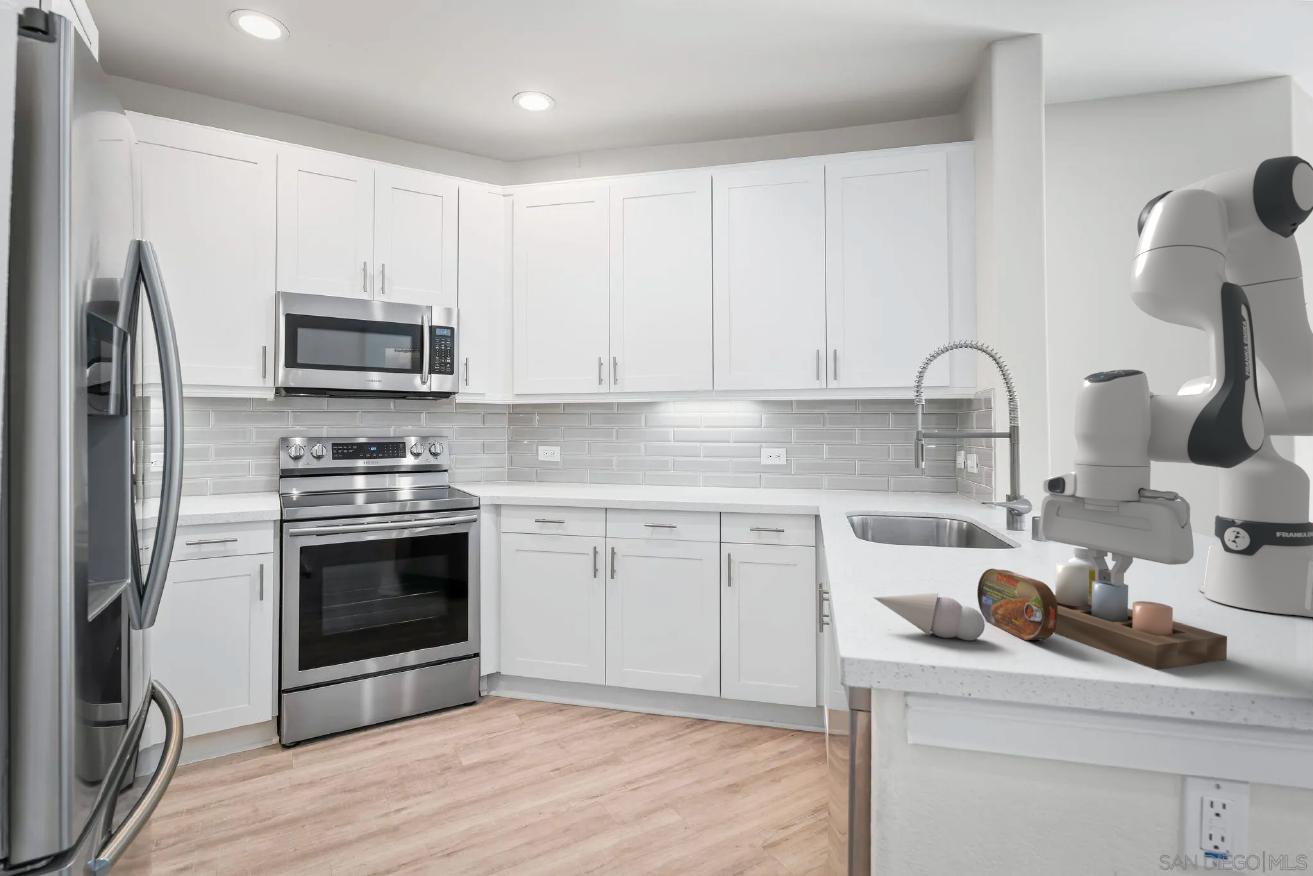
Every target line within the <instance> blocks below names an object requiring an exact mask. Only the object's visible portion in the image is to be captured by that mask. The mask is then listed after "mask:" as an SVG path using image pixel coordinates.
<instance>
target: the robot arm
mask: <svg viewBox="0 0 1313 876" xmlns="http://www.w3.org/2000/svg"><path fill="white" fill-rule="evenodd" d="M1312 212H1313V166H1312V164H1310V162H1308V161H1307V160H1305V159H1303V158H1301V157H1300V156H1297V155H1288V156H1286V155H1285V156H1279V157H1272V158H1268V159H1265V160H1263V161H1261V162H1259V163H1255V164H1250V165H1249V164H1248V165H1244V166H1240V167H1236V168H1232V169H1228V170H1224V171H1221V172H1217V173H1214V174H1213V175H1211V176H1209V177H1206V178H1203V179H1200V180H1197V181H1194V182H1191V183H1190V184H1187V185H1184V186H1182V187H1180V188H1177V189H1175V190H1167V191H1166V192H1164V193H1161V194H1159V195H1157V196H1156V197H1154V198H1153V199H1151V200H1149V201H1148V202H1147V203H1146V204H1145V206H1144V207H1143V209H1142V210H1141V211H1140V214H1139V215H1138V219H1137V234H1138V241H1137V245H1136V247H1135V252H1134V256H1133V262H1132V265H1131V270H1130V276H1129V296H1130V298H1131V300H1132V301H1133V302H1134V305H1136V307H1138V309H1140V311H1142V312H1143V313H1145V314H1147V315H1148V316H1151V317H1152V318H1154V319H1156V320H1157V319H1158V320H1160V321H1163V322H1166V323H1170V324H1174V325H1180V326H1185V327H1188V328H1193V329H1196V330H1197V329H1198V330H1201V331H1204V332H1205V333H1206V335H1207V337H1208V338H1207V339H1208V354H1209V357H1208V358H1209V372H1210V373H1209V374H1207V375H1203V376H1199V377H1195V378H1192V379H1189V380H1188V381H1186V382H1184V383H1183V384H1182V386H1181V387H1180V388H1179V390H1178V392H1177V394H1165V395H1164V394H1163V395H1162V394H1155V393H1154V392H1152V391H1151V390H1150V388H1149V387H1150V386H1149V381H1148V377H1147V374H1146V373H1145V372H1144V371H1142V370H1138V369H1116V370H1110V371H1099V372H1095V373H1092V374H1089V375H1086V376H1085V377H1083V379H1082V380H1081V382H1080V384H1079V389H1078V393H1077V398H1076V403H1075V404H1076V405H1075V413H1074V414H1075V417H1074V436H1075V438H1076V439H1075V440H1076V443H1077V449H1076V450H1077V451H1076V455H1075V457H1074V461H1073V463H1074V464H1073V471H1069V472H1066V473H1065V472H1064V473H1063V474H1059V475H1055V476H1052V477H1048V478H1045V479H1043V481H1042V489H1043V490H1042V491H1043V492H1044V493H1046V495H1045V496H1044V497H1043V499H1042V501H1041V506H1040V507H1041V508H1040V532H1041V534H1042V536H1043V537H1044V539H1045V540H1046V541H1050V542H1054V543H1060V544H1065V545H1070V546H1079V547H1084V548H1088V558H1089V559H1090V561H1091V563H1092V565H1093V567H1094V569H1095V580H1096V581H1098V582H1102V583H1106V584H1110V585H1114V586H1122V585H1123V584H1125V583H1124V582H1125V573H1126V572H1127V570H1128V569H1129V568H1130V567H1131V565H1132V564H1133V562H1134V558H1135V559H1139V560H1144V561H1149V562H1154V563H1160V564H1164V565H1170V566H1173V565H1174V566H1175V565H1176V566H1177V565H1184V564H1188V563H1189V562H1190V561H1191V560H1192V559H1193V557H1194V555H1195V553H1194V550H1195V549H1194V540H1193V539H1194V538H1193V532H1192V531H1193V529H1192V525H1191V505H1190V502H1188V501H1187V499H1185V498H1184V497H1182V496H1180V494H1179V493H1178V492H1176V491H1169V490H1166V491H1164V490H1163V491H1162V490H1157V489H1151V462H1155V463H1157V462H1158V463H1173V464H1174V463H1179V464H1194V465H1196V466H1197V465H1198V466H1206V467H1213V468H1215V469H1216V474H1217V491H1218V493H1217V494H1218V514H1217V515H1216V516H1214V517H1215V519H1214V523H1213V527H1214V536H1215V537H1216V538H1217V539H1216V540H1215V542H1214V543H1212V544H1211V545H1210V546H1209V548H1208V553H1207V559H1206V565H1205V566H1206V567H1205V574H1204V575H1205V576H1204V582H1203V583H1198V586H1197V590H1198V591H1199V592H1202V593H1203V595H1204V597H1205V598H1206V599H1209V600H1211V601H1213V602H1216V603H1220V604H1223V605H1226V606H1227V605H1228V606H1232V607H1235V608H1240V609H1247V610H1250V611H1251V610H1252V611H1259V612H1265V613H1272V614H1279V615H1280V614H1282V615H1295V616H1304V617H1311V618H1313V521H1310V493H1311V492H1310V491H1311V490H1310V488H1311V485H1310V483H1311V481H1310V478H1309V475H1308V473H1307V472H1306V471H1305V469H1303V467H1301V466H1300V465H1298V464H1296V463H1295V462H1292V461H1290V460H1288V459H1286V458H1284V457H1282V456H1281V455H1280V454H1279V453H1278V452H1277V450H1276V448H1275V447H1274V445H1273V443H1272V438H1271V436H1280V437H1281V436H1285V437H1287V436H1288V437H1289V436H1291V437H1300V436H1301V437H1313V331H1312V329H1311V326H1310V323H1309V319H1308V318H1309V317H1308V312H1307V306H1306V298H1305V292H1304V291H1305V289H1304V278H1303V277H1304V276H1303V266H1302V262H1301V260H1302V259H1301V255H1300V250H1299V247H1298V243H1297V240H1296V236H1295V233H1296V231H1297V230H1298V228H1299V226H1300V225H1302V224H1303V223H1304V222H1305V221H1306V220H1307V219H1308V217H1309V216H1310V215H1311V214H1312ZM1108 554H1111V561H1112V562H1115V563H1114V565H1112V568H1111V569H1109V565H1108V564H1107V561H1106V557H1108V556H1109V555H1108Z"/></svg>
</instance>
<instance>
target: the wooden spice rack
mask: <svg viewBox="0 0 1313 876" xmlns="http://www.w3.org/2000/svg"><path fill="white" fill-rule="evenodd" d="M1054 596H1055V594H1054ZM1057 605H1058V617H1057V624H1056V629H1055V631H1054V633H1053V634H1056V635H1059V636H1062V637H1065V638H1068V639H1070V640H1073V641H1076V642H1078V643H1082V644H1085V645H1087V646H1090V647H1092V648H1095V649H1098V650H1101V651H1104V652H1105V653H1109V654H1112V655H1115V656H1118V657H1119V658H1120V657H1121V658H1122V659H1126V660H1129V661H1131V662H1134V663H1138V664H1140V665H1142V666H1144V667H1148V668H1151V669H1154V670H1160V669H1161V670H1163V669H1169V668H1175V667H1182V666H1189V665H1190V666H1191V665H1196V664H1203V663H1204V664H1205V663H1211V662H1219V661H1225V660H1227V658H1228V657H1227V656H1228V655H1227V654H1228V653H1227V652H1228V650H1227V649H1228V635H1225V634H1220V633H1217V632H1213V631H1209V630H1206V629H1203V628H1200V627H1196V626H1193V625H1188V624H1186V623H1181V622H1177V621H1174V620H1173V622H1172V634H1170V635H1162V636H1155V635H1152V634H1149V633H1145V632H1142V631H1139V630H1136V629H1133V628H1132V622H1133V608H1129V607H1128V621H1120V622H1110V621H1107V620H1104V619H1100V618H1097V617H1094V616H1092V598H1090V597H1089V605H1087V606H1071V605H1065V604H1061V603H1058V602H1057Z"/></svg>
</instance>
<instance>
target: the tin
mask: <svg viewBox="0 0 1313 876" xmlns="http://www.w3.org/2000/svg"><path fill="white" fill-rule="evenodd" d="M977 584H978V585H977V590H976V591H977V602H978V603H977V604H978V608H979V610H980V612H981V613H980V614H981V615H982V617H983V619H984V620H985V621H986V622H988V623H989V624H990V625H992V626H994V627H996V628H999V629H1000V630H1002V631H1004V632H1007V633H1009V634H1011V635H1013V636H1015V637H1017V638H1019V639H1021V640H1023V641H1030V640H1033V641H1042V640H1046V639H1049V638H1050V637H1052V635H1053V634H1055V633H1054V631H1055V629H1056V624H1057V617H1058V605H1057V601H1056V598H1055V596H1054V595H1055V593H1054V592H1053V590H1052V589H1051V588H1050V587H1049V586H1048V585H1047V584H1046V583H1045V582H1044V581H1041V580H1038V579H1035V578H1033V577H1028V576H1025V575H1023V574H1020V573H1018V572H1017V573H1016V572H1013V571H1011V570H1007V569H996V568H988V569H987V570H985V571H984V572H983V573H982V575H981V576H980V578H979V580H978V583H977Z"/></svg>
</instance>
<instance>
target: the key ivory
mask: <svg viewBox="0 0 1313 876" xmlns="http://www.w3.org/2000/svg"><path fill="white" fill-rule="evenodd" d="M1054 595H1055V598H1056V601H1057V602H1058V603H1061V604H1065V605H1071V606H1087V605H1089V567H1088V566H1086V565H1081V564H1075V563H1068V562H1057V563H1055V593H1054Z"/></svg>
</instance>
